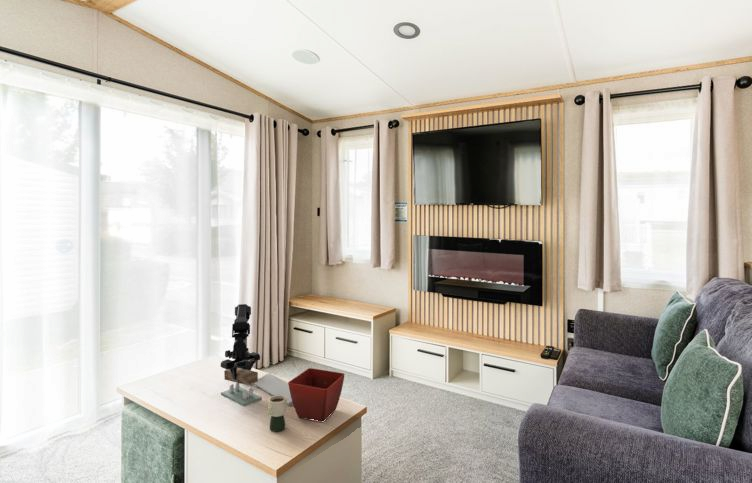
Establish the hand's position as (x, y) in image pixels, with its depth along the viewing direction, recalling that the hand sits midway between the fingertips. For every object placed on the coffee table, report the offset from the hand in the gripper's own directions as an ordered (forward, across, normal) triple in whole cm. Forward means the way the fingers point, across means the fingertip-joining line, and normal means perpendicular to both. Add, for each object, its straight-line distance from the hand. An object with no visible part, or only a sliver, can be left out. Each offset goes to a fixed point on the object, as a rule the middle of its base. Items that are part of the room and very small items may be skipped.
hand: (241, 377), depth 198 cm
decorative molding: (+11, -15, +10) cm, 21 cm away
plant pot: (+10, -12, +42) cm, 45 cm away
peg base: (+10, 0, 0) cm, 10 cm away
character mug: (+10, +8, +39) cm, 41 cm away
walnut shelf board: (+1, 0, 0) cm, 1 cm away
